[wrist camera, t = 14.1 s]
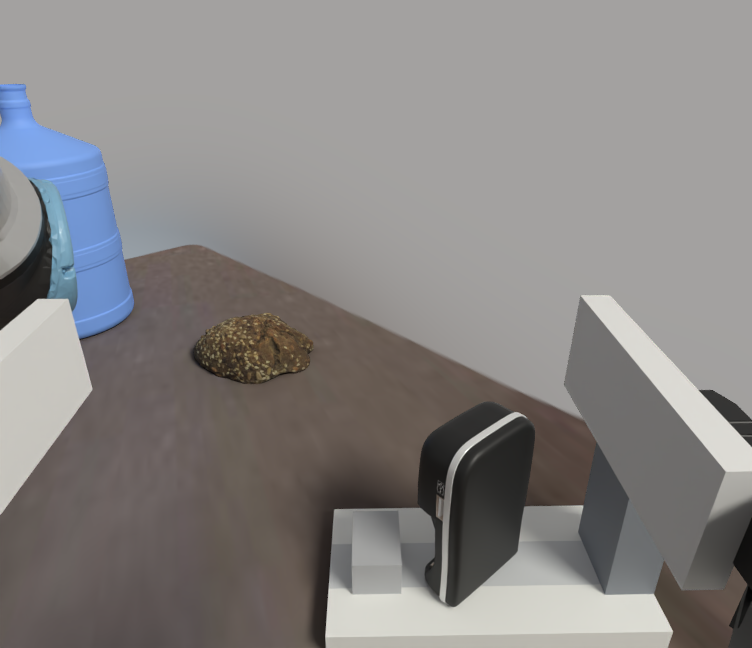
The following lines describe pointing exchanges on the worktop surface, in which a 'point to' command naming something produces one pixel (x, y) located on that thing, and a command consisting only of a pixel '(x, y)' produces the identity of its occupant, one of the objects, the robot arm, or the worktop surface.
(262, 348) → the bread roll
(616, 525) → the mount
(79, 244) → the water jug
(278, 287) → the worktop surface
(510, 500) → the battery charger
